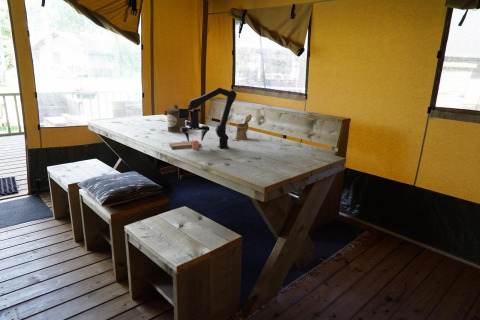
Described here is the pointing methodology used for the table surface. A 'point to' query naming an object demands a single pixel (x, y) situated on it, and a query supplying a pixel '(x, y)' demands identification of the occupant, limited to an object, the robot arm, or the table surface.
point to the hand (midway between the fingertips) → (195, 141)
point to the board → (182, 145)
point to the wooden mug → (243, 129)
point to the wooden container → (174, 119)
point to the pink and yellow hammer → (194, 144)
